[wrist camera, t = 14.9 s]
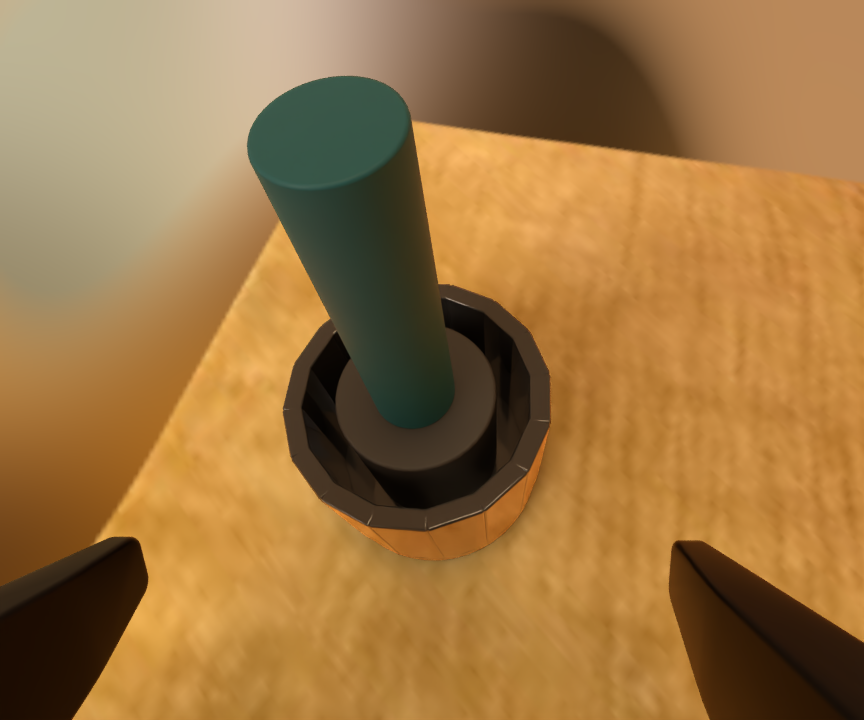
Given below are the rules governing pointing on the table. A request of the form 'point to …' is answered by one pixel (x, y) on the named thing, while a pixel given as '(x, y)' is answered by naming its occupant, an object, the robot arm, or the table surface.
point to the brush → (379, 286)
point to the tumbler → (359, 490)
